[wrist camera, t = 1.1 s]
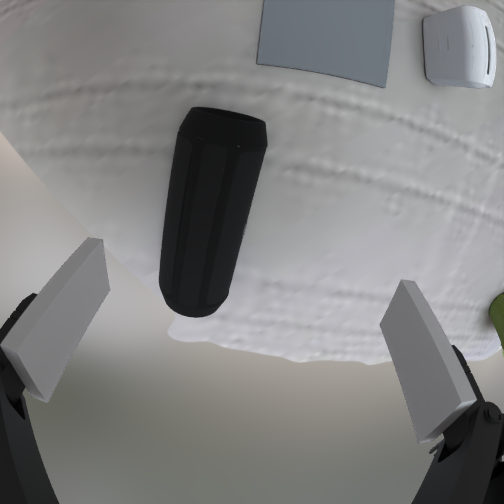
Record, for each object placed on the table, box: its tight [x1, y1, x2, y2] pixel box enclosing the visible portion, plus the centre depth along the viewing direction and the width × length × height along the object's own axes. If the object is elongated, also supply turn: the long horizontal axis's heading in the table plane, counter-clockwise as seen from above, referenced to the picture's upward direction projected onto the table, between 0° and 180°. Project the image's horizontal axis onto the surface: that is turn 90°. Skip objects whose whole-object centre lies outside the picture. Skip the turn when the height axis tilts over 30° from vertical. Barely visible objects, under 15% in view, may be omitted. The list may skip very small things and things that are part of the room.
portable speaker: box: [159, 107, 268, 318], centre depth 37 cm, size 26×10×10 cm, turn 166°
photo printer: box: [423, 6, 496, 89], centre depth 23 cm, size 10×4×12 cm, turn 3°
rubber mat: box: [257, 0, 395, 88], centre depth 27 cm, size 16×16×1 cm
